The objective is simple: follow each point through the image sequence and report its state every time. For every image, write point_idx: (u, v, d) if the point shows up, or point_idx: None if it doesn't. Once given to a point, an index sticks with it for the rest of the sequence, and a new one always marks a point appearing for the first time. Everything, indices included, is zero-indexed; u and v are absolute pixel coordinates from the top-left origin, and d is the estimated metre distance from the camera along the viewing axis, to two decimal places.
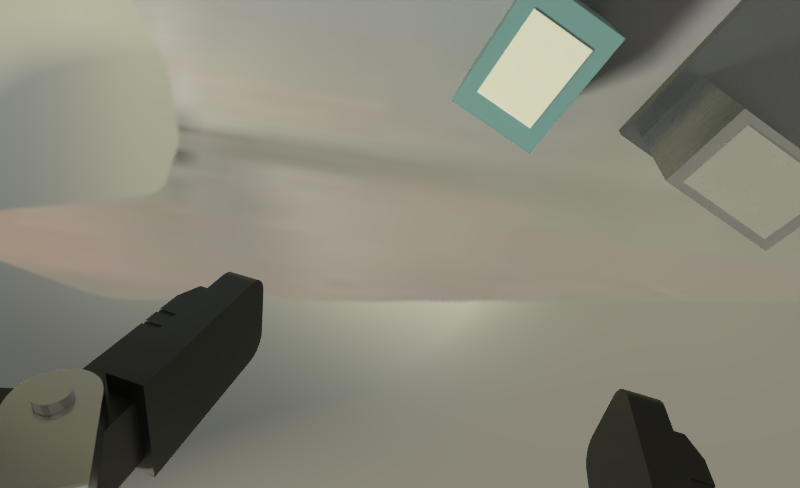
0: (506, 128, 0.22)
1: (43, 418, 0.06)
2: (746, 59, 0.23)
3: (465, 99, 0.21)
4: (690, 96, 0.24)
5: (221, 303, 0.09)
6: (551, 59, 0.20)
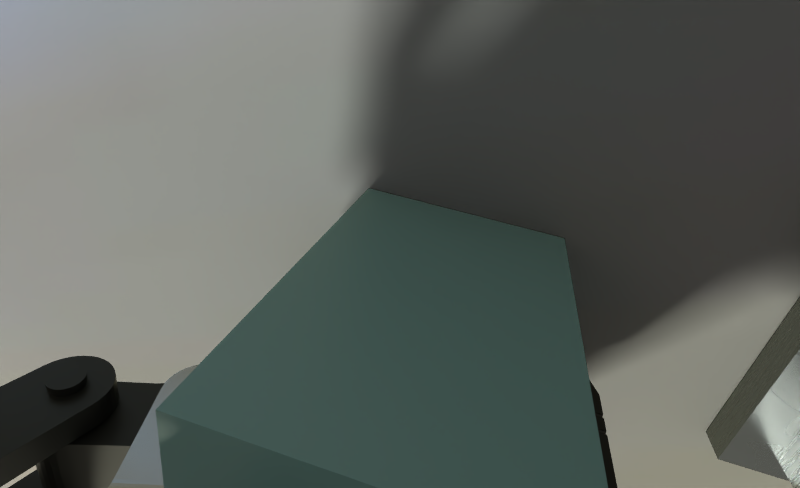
0: None
1: None
2: None
3: None
4: None
5: None
6: None
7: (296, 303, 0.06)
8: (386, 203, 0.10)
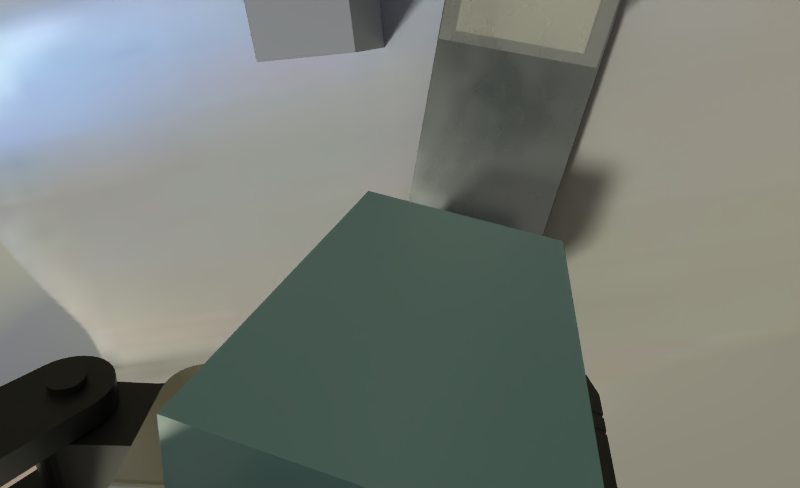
0: None
1: None
2: (441, 209, 0.27)
3: None
4: None
5: None
6: None
7: (296, 307, 0.06)
8: (385, 206, 0.10)
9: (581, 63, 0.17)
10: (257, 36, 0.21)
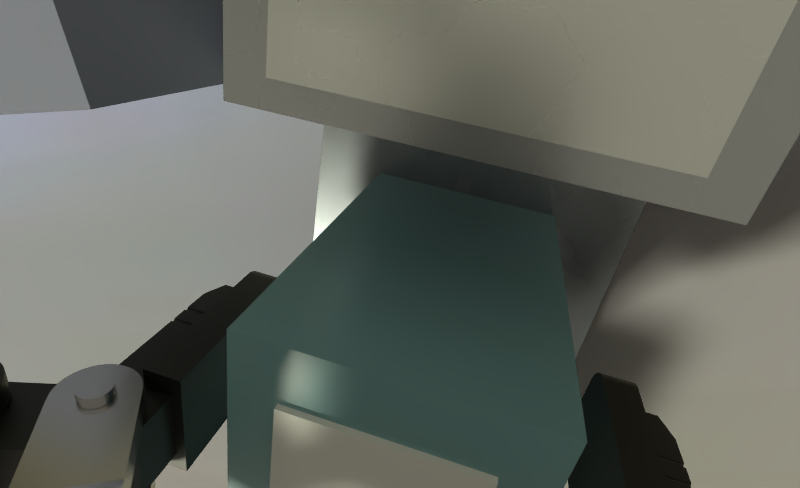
0: None
1: (88, 412, 0.06)
2: None
3: None
4: None
5: (248, 301, 0.09)
6: None
7: (326, 260, 0.08)
8: (396, 185, 0.11)
9: (691, 206, 0.05)
10: None
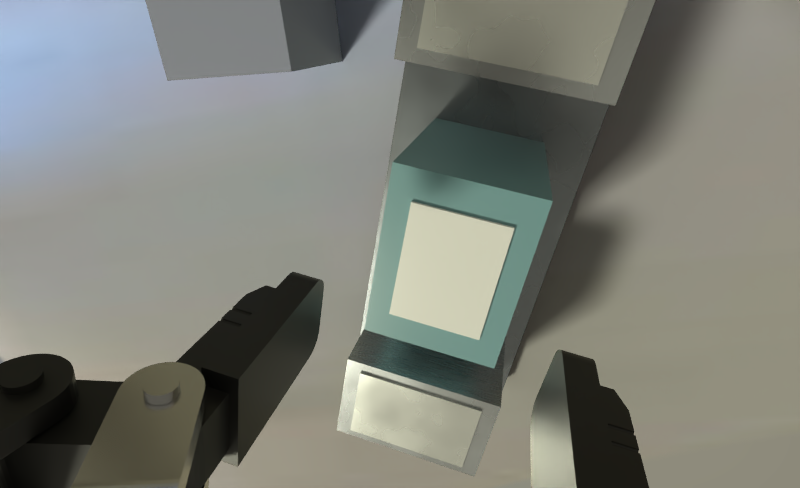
0: (448, 345, 0.15)
1: (157, 408, 0.07)
2: None
3: (380, 324, 0.15)
4: None
5: (292, 301, 0.10)
6: (464, 252, 0.14)
7: (423, 147, 0.15)
8: (447, 123, 0.19)
9: (593, 99, 0.12)
10: (165, 47, 0.16)
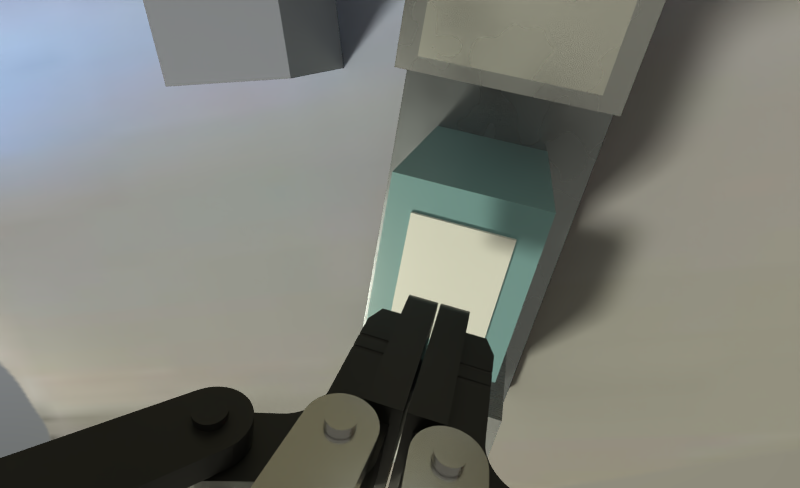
0: None
1: (344, 445, 0.07)
2: None
3: None
4: None
5: (422, 327, 0.10)
6: (465, 264, 0.13)
7: (424, 156, 0.15)
8: (449, 131, 0.18)
9: (598, 109, 0.12)
10: (164, 53, 0.16)
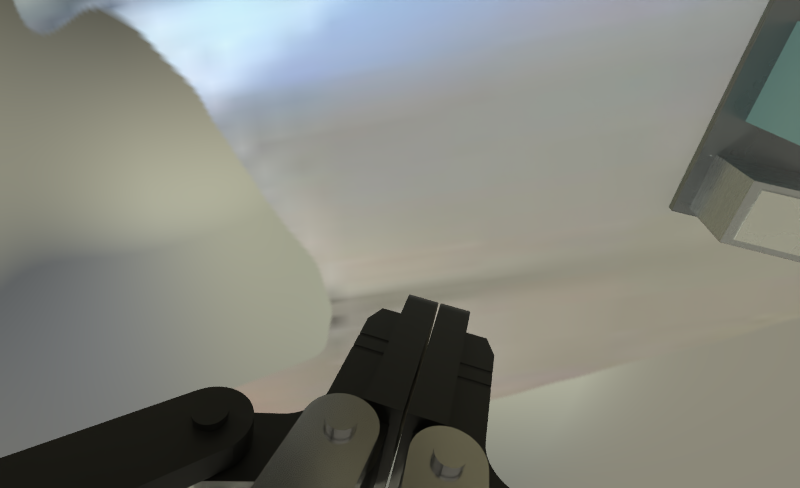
0: None
1: (344, 445, 0.07)
2: (744, 134, 0.31)
3: None
4: (713, 171, 0.31)
5: (422, 327, 0.10)
6: None
7: None
8: None
9: None
10: None
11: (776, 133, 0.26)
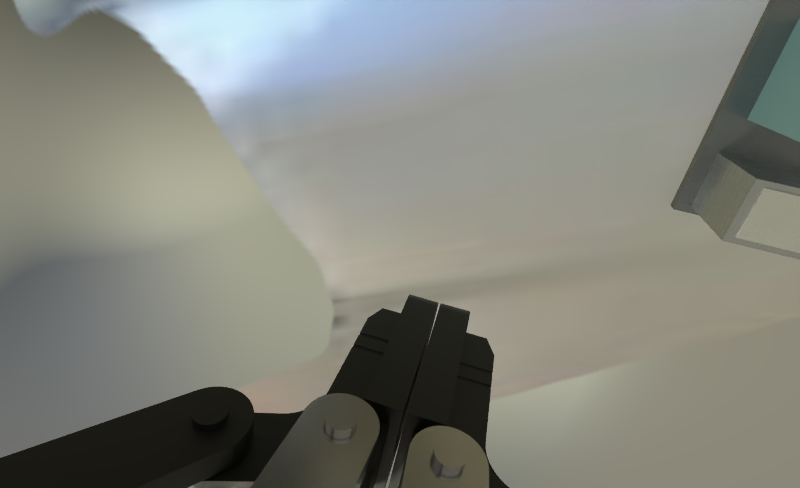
0: None
1: (344, 445, 0.07)
2: (746, 132, 0.30)
3: None
4: (715, 169, 0.31)
5: (422, 327, 0.10)
6: None
7: None
8: None
9: None
10: None
11: (778, 131, 0.26)
